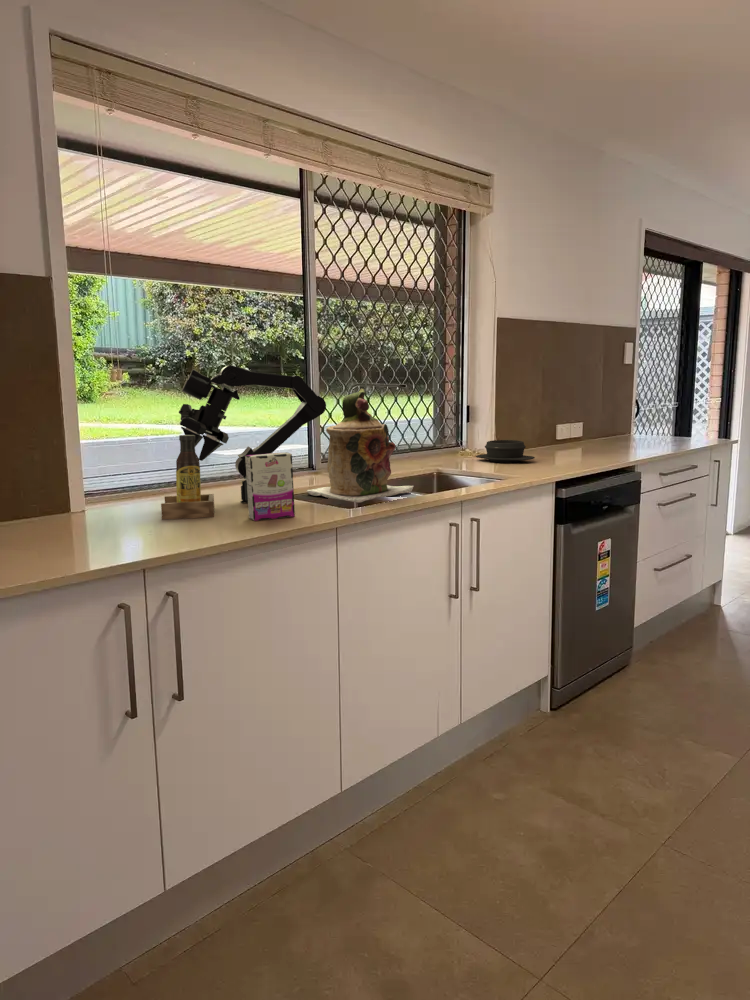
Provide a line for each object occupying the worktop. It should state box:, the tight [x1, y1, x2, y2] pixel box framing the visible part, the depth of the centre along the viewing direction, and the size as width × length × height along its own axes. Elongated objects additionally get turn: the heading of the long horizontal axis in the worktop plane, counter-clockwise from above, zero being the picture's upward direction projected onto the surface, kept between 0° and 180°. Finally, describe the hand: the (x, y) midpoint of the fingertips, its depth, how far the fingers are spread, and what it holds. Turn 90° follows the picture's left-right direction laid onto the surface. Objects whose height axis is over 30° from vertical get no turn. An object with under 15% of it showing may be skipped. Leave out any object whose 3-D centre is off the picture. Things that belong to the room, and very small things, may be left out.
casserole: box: [475, 439, 536, 464], centre depth 293 cm, size 25×19×8 cm
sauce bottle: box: [175, 434, 202, 503], centre depth 186 cm, size 6×6×20 cm
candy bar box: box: [245, 451, 296, 522], centre depth 179 cm, size 11×5×16 cm, turn 118°
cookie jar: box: [306, 388, 414, 503], centre depth 213 cm, size 25×25×32 cm
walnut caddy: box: [160, 493, 215, 520], centre depth 187 cm, size 13×13×4 cm
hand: (192, 458), depth 197 cm, fingers open, 9 cm apart
